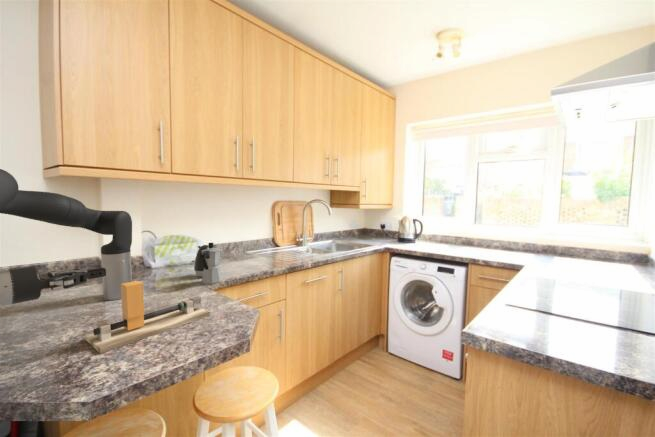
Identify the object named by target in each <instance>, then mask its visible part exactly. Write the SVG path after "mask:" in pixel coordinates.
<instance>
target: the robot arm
mask: <svg viewBox="0 0 655 437" xmlns="http://www.w3.org/2000/svg"><path fill="white" fill-rule="evenodd" d="M0 214H3V215H4V214H5V215H9V216H13V217H14V216H15V217H20V218H23V219H24V218H25V219H29V220H33V221H39V222H43V223H47V224H52V225H56V226H57V225H58V226H63V227H69V228H80V229H81V228H82V229H84V230H85V229H86V230H88V231H91V232H93V233H97V234H100V235H105V236H106V235H107V236H112V240H111V241H110V242H109V243H107V244H106V243H105V244H103V245H102V246H101V247H100V257H101V258H100V260H101V267H94V268H90V269H89V268H88V269H84V268H82V269H81V268H68V269H53V270H47V273H41V274H40V271H39V269H38V268H37V266H36V265H35V266H25V267H17V268H10V269H2V270H0V307H5V306H10V305H11V306H12V305H16V304H22V303H25V302H26V303H27V302H31V301H36V300H38V299H40V297H41V295H42V290H45V289H46V290H47V289H50V290H52V291H54V290H55V291H56V290H61V289H62V288H63V289H65V290H68V289H69V288H74V287H76V286H78V285H82V284H85V283H88V280H92V279H97V278H102V292H103V294H102V295H103V299H104V300H105V301H113V300H114V301H115V300H122V297H121V284H123V283H128V282H133V274H132V273H133V271H132V255H131V247H132V243H133V220H132V216H131V215H130V213H129V212H127V211H125V210H97V209H93V208H90V207H89V208H88V207H86V205H85V204H84V203H83V202H82V201H80V200H78V199H76V198H74V197H71V196H67V195H63V194H61V193H56V192H49V191H38V190H37V191H36V190H35V191H34V190H21V189H19V184H18V181H17V180H16V178H15V177H14V176H13V174H11V173H10V172H8V171H6V170H4V169H1V168H0Z"/></svg>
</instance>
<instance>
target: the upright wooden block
mask: <svg viewBox="0 0 655 437" xmlns="http://www.w3.org/2000/svg"><path fill="white" fill-rule="evenodd" d="M121 297H122V299H121V310H122V311H121V312H122V321H124V320H127V326H124V328H125V329H127V330H131V329H134V328H138V327H141V326H144V315H145V303H144V300H145V299H144V283H143V282H140V281H138V280H135V281H133V280H132V282H128V283H123V284H121Z"/></svg>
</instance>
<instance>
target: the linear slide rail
mask: <svg viewBox="0 0 655 437" xmlns="http://www.w3.org/2000/svg"><path fill="white" fill-rule="evenodd" d="M201 307H202V298H201V297H199V296H197V295H195V296H191V297H189V298H185V299H182V300H181V302H179V303H177V305H173V306H170V307H166V308H162V309H159V310H158V309H157V310H156V311H151V312H148V313H144V326H141V327H138V328H134V329H131V330H127V329H125V328H124V326H127V320H124V321H123V320H121V321H118V322H115V323H111V324H109V323H108V322H107V321H104V322H100V323H97V324H96V328H94V329H93V330H92V333H88V334H85V335H84V340H85V341H86V342H88V344H89V345H91V346H92V347H93V348H94V349H95V350H96V351H97V352H98V353H99V354H103V353H106V352H109V351H113V350H115V349H118V348H120V347H124V346H126V345H129V344H132V343H135V342H138V341H141V340H144V339H147V338H149V337H152V336H156V335H158V334H160V333H164V332H166V331H169V330H172V329H174V328H175V329H176V328H178V327H181V326H184V325H186V324H189V323H192V322H195V321H198V320H201V319H203V318H206V317H209V316H210V315H211V312H210V311H209V310H206V309H203V308H201Z"/></svg>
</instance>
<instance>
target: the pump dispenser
mask: <svg viewBox="0 0 655 437" xmlns="http://www.w3.org/2000/svg"><path fill="white" fill-rule="evenodd" d="M197 247H198V250H197V252H196V256H195V258H194V266H193V270H194V272H195V274H196V275H197V276H198V277H200V278H203V271H204V265H203V262H202V260H201V259H202V252H201V251H202V250H205V249H208V248H209V245H207V244H203V245H197Z"/></svg>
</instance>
